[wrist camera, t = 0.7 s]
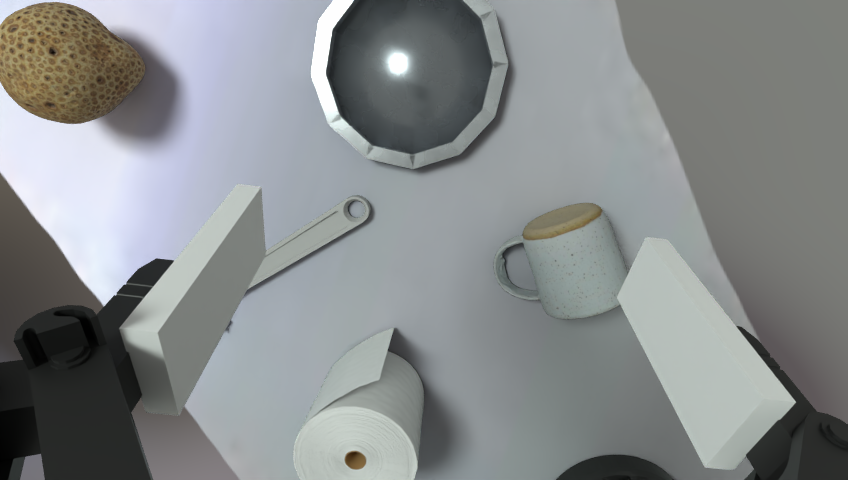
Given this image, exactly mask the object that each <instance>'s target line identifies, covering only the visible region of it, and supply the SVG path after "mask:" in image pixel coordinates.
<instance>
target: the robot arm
mask: <svg viewBox="0 0 848 480" xmlns="http://www.w3.org/2000/svg"><path fill="white" fill-rule="evenodd" d="M265 256H266V250H265V235H264V220H263V205H262V191H261V187H257V186H249V185H242V184H237V185H236V186H235V188H234V189H233V190H232V191H231V193H230V194H229V195H228V196H227V197H226V199H225V200H224V201H223V202H222V204H221V205H220V206H219V207H218V208H217V210H216V211H215V212H214V213H213V214H212V216H211V217H210V218H209V219H208V221H207V222H206V223H205V224H204V225H203V227H202V228H201V229H200V230H199V232H198V233H197V234H196V235H195V236H194V238H193V239H192V240H191V241H190V243H189V244H188V245H187V246H186V247H185V249H184V250H183V251H182V252H181V253H180V255H179V256H178V257H177V258H176V260H175V261H173V260H165V259H155V260H153V261H151V262H150V263H148V264H146V265H144V266H143V267H141V268H139V269H138V270H137V271H136V272H135V273H134V274H133V275H132V277H131V278H130V279H129V280H128V281H127V283H126V285H123V286H122V288H121V289H120V290H119V291H118V292H117V295H116V296H115V295H114V296H113V297H112V298H111V300H110V301H109V302H108V303H107V304H106V305H105V306H104V307H103V308H102V310H101V311H100V312H99V313H98V314H97V315H96V314H95V312H94V311H93V310H92V309H89V308H87V307H84V306H74V305H67V306H61V307H56V308H52V309H49V310H46V311H44V312H41V313H38V314H36V315H35V316H33V317H32V318H30V319H29V320H27V321H25V322H24V323H23V324H22V325H21V326H20V328H19V329H18V330H17V331H16V334H15V338H14V342H15V344H16V346H17V348H18V350H19V352H20V354H21V356H22V358H23V360H17V361H10V362H2V363H0V480H20V477H21V472H22V468H23V464H24V460H25V457H26V456H30V455H36V454H41V456H42V463H43V469H44V476H45V480H153V478H152V475H151V472H150V469H149V466H148V463H147V460H146V456H145V453H144V450H143V447H142V445H141V441H140V438H139V435H138V432H137V429H136V426H135V423H134V420H133V417H132V414H131V412H132V410H133V409H134V407H135V406H136V404H137V403H138V401H139V399H140V398H142V402H143V405H144V408H145V411H146V412H148V413H158V414H168V415H178V416H179V415H180V413H181V411H182V409H183V407H184V405H185V404H186V402H187V400H188V398H189V396H190V394H191V392H192V391H193V389H194V387H195V385H196V383H197V381H198V380H199V378H200V376H201V374H202V372H203V370H204V368H205V367H206V365H207V363H208V361H209V359H210V357H211V355H212V354H213V352H214V350H215V348H216V346H217V344H218V343H219V341H220V339H221V337H222V335H223V333H224V331H225V330H226V328H227V326H228V324H229V322H230V320H231V319H232V317H233V315H234V313H235V311H236V309H237V307H238V306H239V304H240V302H241V300H242V298H243V296H244V295H245V293H246V291H247V289H248V287H249V285H250V283H251V282H252V280H253V278H254V276H255V274H256V272H257V270H258V269H259V267H260V265H261V263H262V261H263V259H264V258H265ZM617 299H618V301H619V303H620V305H621V307H622V309H623V311H624V313H625V315H626V317H627V318H628V320H629V322H630V324H631V326H632V328H633V330H634V332H635V334H636V336H637V338H638V340H639V342H640V344H641V345H642V347H643V349H644V351H645V353H646V355H647V357H648V359H649V361H650V363H651V365H652V367H653V369H654V371H655V372H656V374H657V376H658V378H659V380H660V382H661V384H662V386H663V388H664V390H665V392H666V394H667V396H668V398H669V399H670V401H671V403H672V405H673V407H674V409H675V411H676V413H677V415H678V417H679V419H680V421H681V423H682V425H683V426H684V428H685V430H686V432H687V434H688V436H689V438H690V440H691V442H692V444H693V446H694V448H695V450H696V452H697V453H698V455H699V457H700V459H701V461H702V463H703V465H704V467H705V468H715V469H725V470H734V469H735V468H736V467H737V466H738V465H739V464H740V462H741V461H742V460H743V459H744V458H745V457H746V456H747V458H748V460H749V461H750V463H751V465H752V466H753V468H754V470H753V471H752V472H751V473H750V474H749V475H748V477H747V478H746V479H745V480H848V424H846V423H845V422H843V421H841V420H840V419H838V418H835V417H833V416H831V415H828V414H825V413H820V412H817V411H816V410H815V409H814V408H813V406H812V405H811V404H810V403H809V401H808V400H807V399H806V398H805V397H804V395H803V394H802V393H801V392H800V390H799V389H798V388H797V387H796V386H795V384H794V383H793V382H792V381H791V380H790V378H789V377H788V376H787V375H786V373H785V372H784V371H783V370H780V366H779V365H778V364H777V363H776V362H775V360H774V359H773V358H770V354H769V353H768V352H767V350H766V349H765V348H764V347H763V345H762V344H761V343H760V342H759V341H758V340H757V339H756V338H755V337H753V336H752V335H751V334H750V333H748V332H747V331H746V330H745V329H743V328H742V327H739V326H735V324H734V323H733V322H732V321H731V319H730V318H729V317H728V316H727V314H726V313H725V312H724V311H723V309H722V308H721V307H720V305H719V304H718V303H717V302H716V300H715V299H714V298H713V297H712V295H711V294H710V293H709V292H708V290H707V289H706V288H705V287H704V285H703V284H702V283H701V282H700V280H699V279H698V278H697V276H696V275H695V274H694V273H693V271H692V270H691V269H690V268H689V266H688V265H687V264H686V263H685V261H684V260H683V259H682V258H681V256H680V255H679V254H678V252H677V251H676V250H675V249H674V247H673V246H672V245H671V244H670V242H669V241H668V240H666V239H658V238H650V237H646V238H645V240H644V242H643V244H642V246H641V248H640V250H639V253H638V255H637V257H636V259H635V261H634V263H633V265H632V267H631V269H630V271H629V273H628V275H627V277H626V279H625V281H624V283H623V285H622V287H621V290H620V292H619V294H618V296H617ZM557 480H673V479H672V478H671V477H670V476H669V475H668V474H667V473H666V472H665V471H664V470H662V469H661V468H659V467H658V466H656V465H654V464H652V463H650V462H648V461H645V460H642V459H639V458H635V457H630V456H621V455H611V456H602V457H596V458H592V459H589V460H586V461H583V462H581V463H579V464H577V465H575V466H573V467H571V468H570V469H568V470H567V471H566V472H564V473H563V474H562V475H561V476H560V477H559V478H558V479H557Z"/></svg>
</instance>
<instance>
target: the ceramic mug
mask: <svg viewBox="0 0 848 480" xmlns="http://www.w3.org/2000/svg"><path fill="white" fill-rule="evenodd" d="M519 243H523V244H524V248H525V252H526V255H527V258H528V261H529V263H530V266H531V269H532V272H533V275H534V279H535V283H536V286H537V289H538V291H531V290H525V289H521V288H519V287H517V286H515V285H513V284H512V283H511V282H510V280H509V279H508V277H507V273H506V270H505V265H504V262H505V259H504V258H503V252H504V251H505V250H506V249H507V248H509V247H511V246H513V245H515V244H519ZM494 273H495V276H496V279H497V281H498V283H499V285H500V286H501V287H502V288H503V289H504V290H505V291H506V292H508V293H509V294H511V295H513V296H515V297H518V298H522V299H527V300H541V302H542V306H543V308H544V310H545V312H546V313H547V314H548V315H550V316H552V317H555V318H559V319H579V318H586V317H591V316H595V315H599V314H602V313H604V312H607V311H609V310H611V309H614V308H616V307H617V306H619V305H620V303H619V301H618V299H617V296H618V294H619V292H620V290H621V287H622V285H623V283H624V281H625V279H626V277H627V275H628V272H627V269H626V266H625V263H624V260H623V257H622V255H621V252H620V249H619V247H618V245H617V242H616V239H615V236H614V233H613V230H612V227H611V225H610V222H609V220H608V218H607V217H606V215H605V213H604V212H603V210H602V209H601V208H600V207H599V206H598V205H596V204H593V203H580V204H574V205H570V206H566V207H563V208H559V209H556V210H554V211H551V212H548V213H546V214H544V215H541V216H539V217H538V218H536V219H534V220H533V221H531V222H530V223H528V225H527V226H526V227H525V229H524V231H523V235H521V236H517V237H514V238H512V239H511V240H509V241H507V242H506V243H505V244H504V245H502V246H501V247H500V249H499V250H498V252H497V253H496V255H495V259H494Z"/></svg>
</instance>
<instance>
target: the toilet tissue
mask: <svg viewBox="0 0 848 480" xmlns="http://www.w3.org/2000/svg"><path fill="white" fill-rule="evenodd" d="M393 330H394V328H392V329H388V330H386V331H384V332H381V333H378V334H375V335H374V336H372V337H371V338H369V339H367V340H365V341H364V342H362V343H360V344H359V345H357V346H356V347H354V348H353V349H351V350H350V351H349V352H347V353H346V354H345V355H344V356H343V357H342V358H340V359H339V360H338V361H337V362H336V363H335V364H334V365H333V367H332V368H331V370H330V371H329V373H328V375H327V376H326V378H325V381H324V383H323V384H322V386H321V389H320V391H319V393H318V395H317V397H316V399H315V400H314V402H313V405H312V406H311V408H310V411H309V413H308V415H307V416H306V419H305V421H304V423H303V425H302V427H301V429H300V431H299V433H298V435H297V438H296V441H295V444H294V452H293V458H294V466H295V468H296V471H297V474H298V476H299V478H300V480H414V478H415V475H416V471H417V468H418V458H419V455H418V453H419V446H420V437H421V423H422V416H423V409H424V389H423V385H422V382H421V379H420V377H419V375H418V374H417V372H416V371H415V369H414V368H413V367H412V366H411V365H410V364H409V363H408V362H407V361H406V360H404V359H403V358H401V357H400V356H398V355H396V354H394V353H391V352H389V351H388V348H389V344H390V340H391V336H392V334H393Z"/></svg>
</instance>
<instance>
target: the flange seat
mask: <svg viewBox="0 0 848 480" xmlns="http://www.w3.org/2000/svg"><path fill="white" fill-rule="evenodd" d="M319 20H320V21H319V22H318V29H317V36H316V42H315V49H314V56H313V63H312V70H311V74H312V75H311V76H312V79H313V82H314V85H315V88H316V91H317V93H318V96H319V99H320V102H321V105H322V108H323V110H324V113H325V116H326V119H327V122H328V124H329V125H330V126H331V127H332V128H333V129H334V130H335V131H336V132H337V133H338V134H340V135H341V136H342V137H343V138H344V139H345V140H346V141H347V142H348V143H349V144H350V145H352V146H353V147H354V148H355V149H356V150H357V151H358V152H359V153H360V154H361V155H363V156H364V157H365V158H366V159H371V160H375V161H379V162H384V163H388V164H392V165H397V166H401V167H405V168H410V169H416V168H419V167H422V166H425V165H428V164H432V163H435V162H438V161H441V160H444V159H447V158H451V157H454V156H457V155H460V154H461V153H462V152H463V151H464V150H465V149H466V148H467V147H468V145H469V144H470V143H471V142H472V141H473V140H474V139H475V138H476V137H477V136H478V135H479V134H480V133H481V131H482V130H483V129H484V128H485V127H486V126H487V125H488V124H489V123H490V122H491V121H492V120H493V119H494V116H496V112H497V108H498V104H499V100H500V96H501V92H502V88H503V84H504V80H505V76H506V72H507V68H508V59H507V56H506V52H505V48H504V44H503V40H502V36H501V32H500V28H499V24H498V20H497V16H496V13H495V10H494V8H493V7H492V6H491V5H490V4H489V3H488V2H487V1H486V0H334V1H333V2H332V4H331V5H330V6H329V8H328V9H327V10H326V12H325V13H324V14H323V15H322V17H321V18H320V19H319ZM459 153H460V154H459Z"/></svg>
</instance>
